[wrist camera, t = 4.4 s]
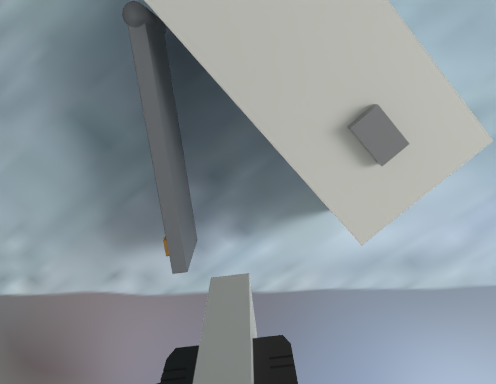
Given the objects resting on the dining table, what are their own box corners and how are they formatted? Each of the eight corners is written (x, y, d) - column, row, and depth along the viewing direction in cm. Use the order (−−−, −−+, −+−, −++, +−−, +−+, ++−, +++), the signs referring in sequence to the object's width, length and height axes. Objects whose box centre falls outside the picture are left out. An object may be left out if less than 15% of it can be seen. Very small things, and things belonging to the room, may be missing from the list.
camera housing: (148, -3, 30) (110, -38, 22) (251, -109, 29) (253, -190, 20) (335, 209, 34) (365, 250, 26) (434, 127, 33) (501, 142, 24)
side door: (139, 19, 30) (113, 4, 24) (164, 16, 30) (144, -1, 24) (177, 242, 34) (163, 274, 28) (199, 239, 34) (190, 271, 28)
